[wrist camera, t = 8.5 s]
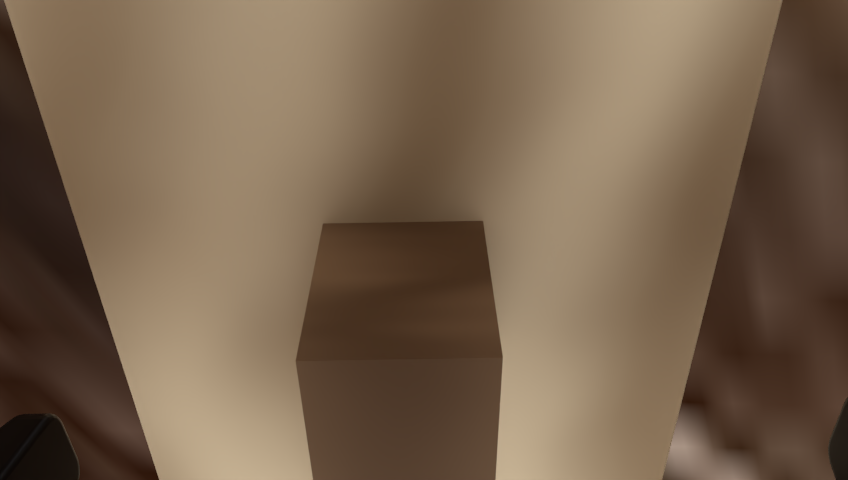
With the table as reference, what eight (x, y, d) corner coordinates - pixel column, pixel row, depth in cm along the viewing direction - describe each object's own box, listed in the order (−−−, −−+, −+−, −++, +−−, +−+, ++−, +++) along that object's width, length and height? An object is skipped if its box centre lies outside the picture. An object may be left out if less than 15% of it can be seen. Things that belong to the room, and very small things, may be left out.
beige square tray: (772, -51, 13) (938, 39, 9) (653, 457, 20) (713, 634, 16) (18, -38, 13) (-168, 57, 9) (171, 465, 20) (109, 645, 16)
